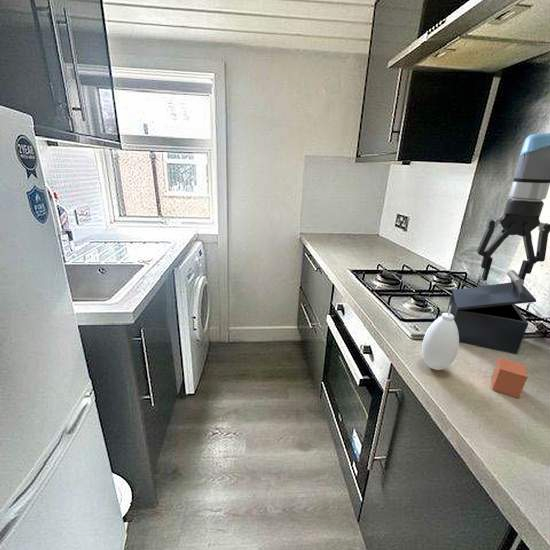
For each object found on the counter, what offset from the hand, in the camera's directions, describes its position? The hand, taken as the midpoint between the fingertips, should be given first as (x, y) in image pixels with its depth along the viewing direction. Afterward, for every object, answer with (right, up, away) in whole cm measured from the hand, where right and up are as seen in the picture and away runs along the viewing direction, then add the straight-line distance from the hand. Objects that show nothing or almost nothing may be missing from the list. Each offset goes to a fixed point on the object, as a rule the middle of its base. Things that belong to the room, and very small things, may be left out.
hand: (501, 281), depth 86 cm
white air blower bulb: (-24, -22, -8) cm, 33 cm away
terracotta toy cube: (-10, -25, -14) cm, 31 cm away
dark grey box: (-2, -17, +7) cm, 18 cm away
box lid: (-2, -5, +2) cm, 5 cm away
